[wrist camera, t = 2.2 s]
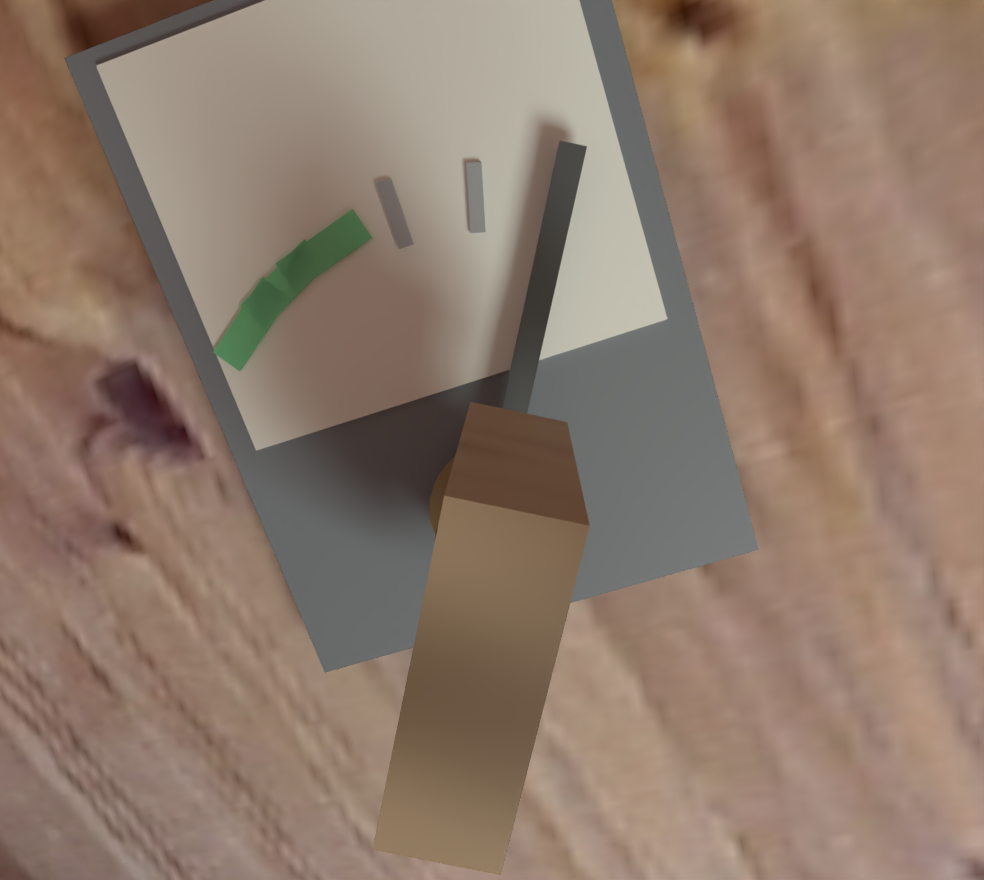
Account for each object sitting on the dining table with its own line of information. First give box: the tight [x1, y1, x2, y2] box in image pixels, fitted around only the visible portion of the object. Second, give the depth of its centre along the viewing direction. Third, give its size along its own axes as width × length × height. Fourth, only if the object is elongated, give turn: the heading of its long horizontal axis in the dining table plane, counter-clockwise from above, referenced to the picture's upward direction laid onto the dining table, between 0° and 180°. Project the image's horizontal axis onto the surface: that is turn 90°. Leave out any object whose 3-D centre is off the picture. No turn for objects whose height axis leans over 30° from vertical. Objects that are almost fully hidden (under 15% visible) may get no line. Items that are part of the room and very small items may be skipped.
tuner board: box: [65, 0, 759, 672], centre depth 24 cm, size 14×19×2 cm
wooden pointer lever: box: [373, 141, 590, 875], centre depth 18 cm, size 14×4×10 cm, turn 168°
